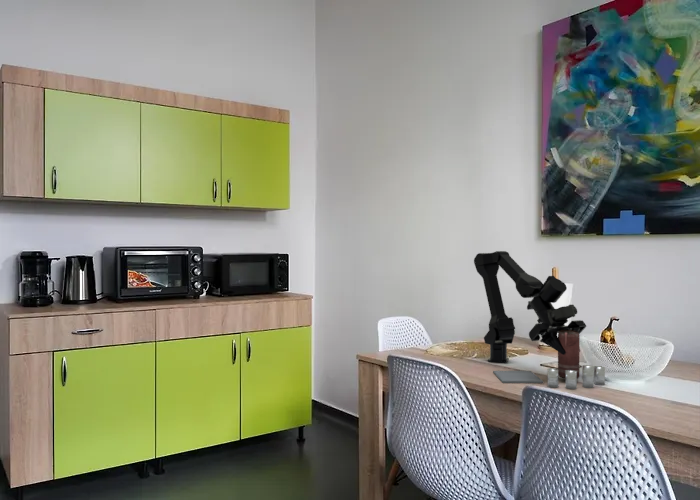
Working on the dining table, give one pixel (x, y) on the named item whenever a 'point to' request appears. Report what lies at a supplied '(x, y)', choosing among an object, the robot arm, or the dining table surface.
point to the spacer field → (589, 377)
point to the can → (568, 352)
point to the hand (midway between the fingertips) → (571, 353)
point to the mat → (517, 377)
